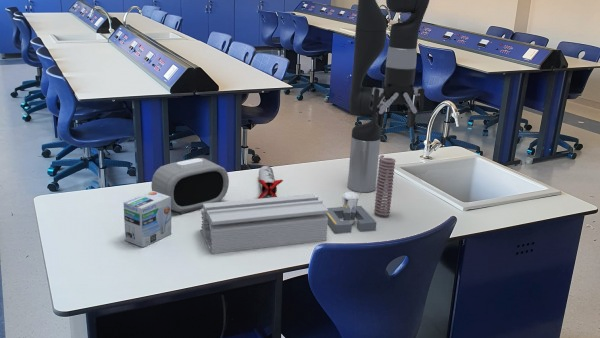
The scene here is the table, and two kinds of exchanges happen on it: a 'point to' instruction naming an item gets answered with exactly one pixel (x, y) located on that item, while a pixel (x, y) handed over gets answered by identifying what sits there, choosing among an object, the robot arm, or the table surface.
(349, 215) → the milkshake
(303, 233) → the aluminum extrusion profile
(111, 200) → the table surface
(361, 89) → the robot arm
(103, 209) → the table surface
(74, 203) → the table surface
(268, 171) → the model rocket
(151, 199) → the light bulb box
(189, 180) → the alarm clock
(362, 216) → the grey flat c-shaped piece
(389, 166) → the coil
